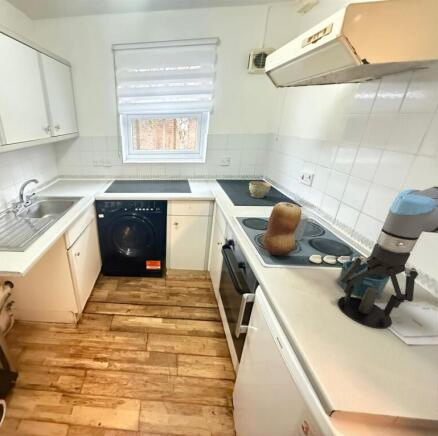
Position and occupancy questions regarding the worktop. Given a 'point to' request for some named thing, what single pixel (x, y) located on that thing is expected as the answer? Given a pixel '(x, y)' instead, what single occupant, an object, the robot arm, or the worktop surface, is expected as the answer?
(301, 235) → the clear glass cylinder
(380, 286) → the pot
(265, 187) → the planter bowl
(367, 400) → the worktop surface
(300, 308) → the worktop surface
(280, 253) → the butternut squash
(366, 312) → the lid
